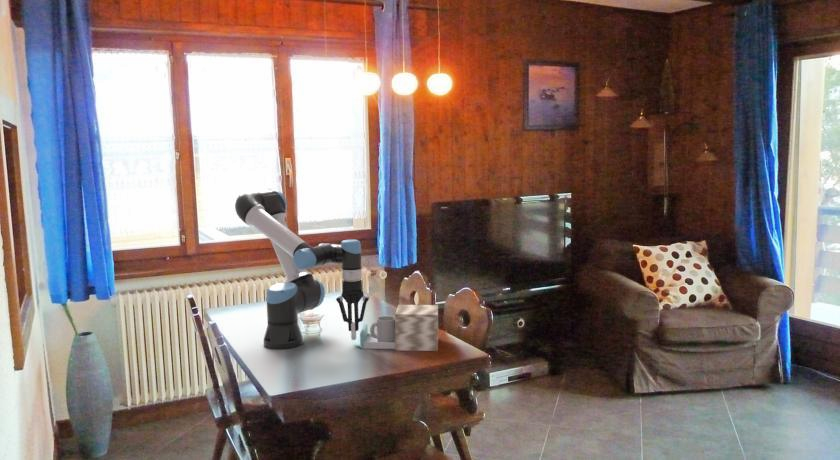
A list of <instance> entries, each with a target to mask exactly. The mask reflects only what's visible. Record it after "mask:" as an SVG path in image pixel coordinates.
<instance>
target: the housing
mask: <svg viewBox="0 0 840 460" xmlns="http://www.w3.org/2000/svg"><path fill="white" fill-rule="evenodd" d="M394 317H395V340H396V349H395V351H419V352H420V351H421V352H422V351H430V352H431V351H432V352H433V351H435V352H437V351H439V350H438V349H439V305H438V304H398V305H397V308H396V311H395V313H394Z"/></svg>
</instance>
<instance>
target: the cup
mask: <svg viewBox="0 0 840 460" xmlns="http://www.w3.org/2000/svg"><path fill="white" fill-rule="evenodd" d="M375 328H376V333H377V335H376V334H375ZM369 331H370V332H369V333H371V336H372V337H373V338H375V339H377V341H378V342H394V341H395V316H390V315H383V316H379V317H377V318H376V321H374V322H373V323H372V324H371V326H370V330H369Z"/></svg>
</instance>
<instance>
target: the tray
mask: <svg viewBox="0 0 840 460" xmlns="http://www.w3.org/2000/svg"><path fill="white" fill-rule="evenodd" d="M375 334H376V335H377V332H376V333H375ZM359 339H360V340H359V344H360V345H359V346H360V349H361V350H362V349H363V350H364V349H365V350H366V349H369V350H370V349H373V350H374V349H377V350H378V349H381V350H384V349H385V350H390V349H391V350H392V349H393V350H396V340H395V341H394V342H378V341H377V339H375V338H373V337H372V336H371V333H370V332H369V331H368V324H367V323H365V324H364V325H363V326H362V329H361V330H360V333H359Z"/></svg>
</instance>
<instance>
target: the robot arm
mask: <svg viewBox="0 0 840 460" xmlns="http://www.w3.org/2000/svg"><path fill="white" fill-rule="evenodd" d="M287 206H288V202H287V199H286V197H285V195H284V194H283V192H281V191H280V190H278V189H275V188H274V189H273V188H265V189H255V190H254V189H253V190H252V189H251V190H246V191H244V192H242V193H240V194H239V195H238V197H236V200H235V204H234V209H235V213H236V215H237V216H238V218H239V219H240V220H241V221H242V222H243V223H244V224H246V225H247V226H249V227H254V228H255V229H257V231H259V232H260V233H262V234H263V235H264V236H265V237H267V238H268V239H269V240H270V243H271V244H272V248H273V250H274V252H275V254H276V257H277V259H278V261H279V263H280V266H281V268H282V271H283V274H284V276H285V277H286V282H279V283H275V284H273V285H270V286H269V287H268V289H267V290H266V298H265V299H266V313H267V314H266V316H267V317H266V318H267V327H266V331H265V334H264V336H263V337H264V338H263V346H264V347H265V348H269V349H275V350H284V349H286V350H287V349H292V348H296V347H298V346H301V345H302V344H303V343H304V339H303V334H302V331H301V329H300V326H299V321H298V314H301V313H304V312H307V311H311V310H314V309H315V308H317V307H319V306H321V305H322V303H323V302H324V301H325V295H326V291H325V287H324V285H323V283H322V282H321V281H320V280H318V279H315V278H314V276H313V273H312V272H310V271H307V270H309V269H310V270H311V269H314V268H316V267H320V266H321V267H322V266H325V265H330V264H339V265H340V264H341V272H342V273H341V274H342V292H341V295H340V296H337V297H336V298H335V301H336V302H337V303H338V306H339V309H340V313H341V317H342V320H343V322H345V323H347V325H348V331H349V332H350V335H351V340H352V341H356V340H357V332H358V331H359V328H360V327H359V326H360V325H359V323H360V322H362V321H363V320H364V316H365V311H366V307H367V303H368V302H369V299H370V297H369V296H367V295H365V293H364V291H363V281H362V277H363V276H362V275H363V272H362V271H363V270H362V245H361V241H360V240H359V239H345V240H342V241H341V243H340V244H336V243H330V242H326V243H319V244H318V245H317V246H311V245H310V244H309V243H307V241H305V240H304V239H302V238H301V237H299V236H298V235H297V234H296V233H295V232H293V231H291V229H289V227H288V224H287V222H286V217H287V212H286V211H287V208H288V207H287ZM361 299H362V306H361V310H360V315H359V302H360V300H361ZM343 301H345V302H346V303H347V311H346V309H345V305H344V302H343ZM352 305H353V306H352ZM352 307H354V308H352ZM353 311H354V321H353Z"/></svg>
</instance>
